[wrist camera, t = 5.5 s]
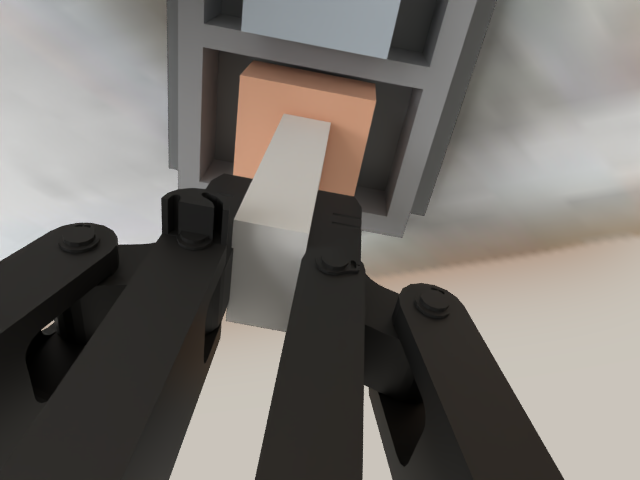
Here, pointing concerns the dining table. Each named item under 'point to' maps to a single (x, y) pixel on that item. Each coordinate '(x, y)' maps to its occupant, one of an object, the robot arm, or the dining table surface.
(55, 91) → the dining table surface
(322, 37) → the key slate
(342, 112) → the key terracotta
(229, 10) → the grey compartment tray
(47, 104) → the dining table surface
